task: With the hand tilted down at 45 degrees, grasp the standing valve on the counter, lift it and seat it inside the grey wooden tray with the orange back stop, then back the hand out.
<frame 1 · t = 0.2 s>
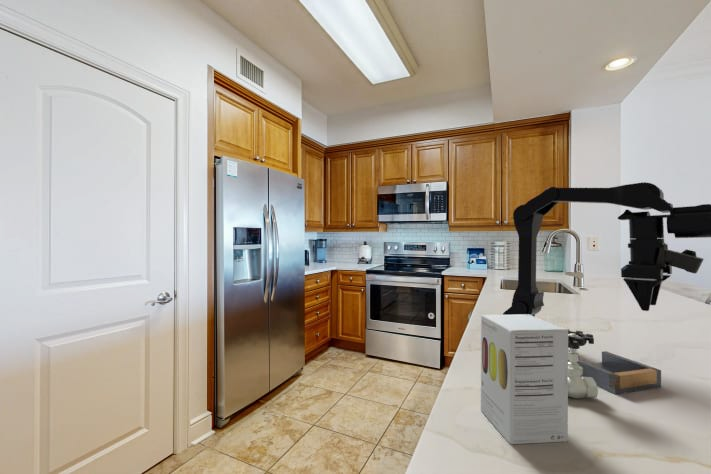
hand: (649, 307, 71), 14 cm above the counter, tool pointing down, fingers open, 9 cm apart
supplement box: (520, 426, 50), on the counter
valve: (573, 398, 59), on the counter
grey wooden tray: (610, 378, 67), on the counter
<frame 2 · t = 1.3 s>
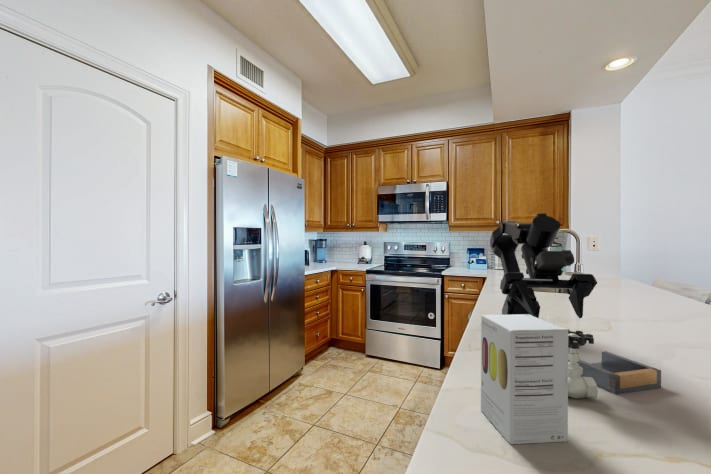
hand: (557, 316, 67), 13 cm above the counter, tool tilted 45°, fingers open, 9 cm apart
nothing on the counter moved.
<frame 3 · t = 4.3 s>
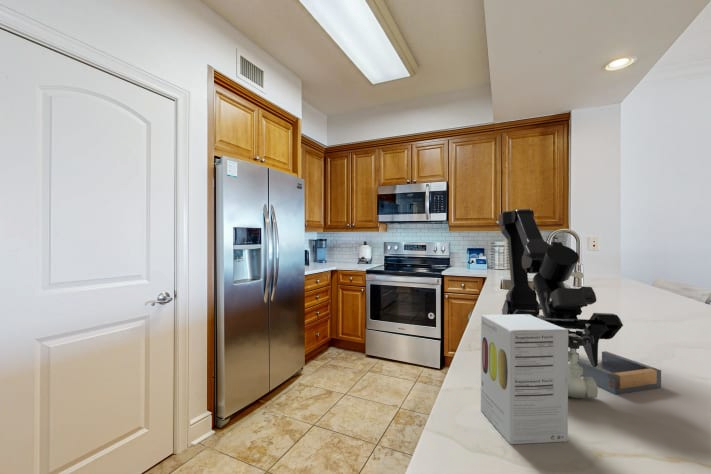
hand: (576, 364, 58), 7 cm above the counter, tool tilted 45°, fingers closed on valve, 6 cm apart
valve: (573, 397, 59), on the counter, touching gripper
everything else where it was.
when the fingers open (8 cm above the counter, at t = 7.7 s): valve stays where it is, resting on grey wooden tray.
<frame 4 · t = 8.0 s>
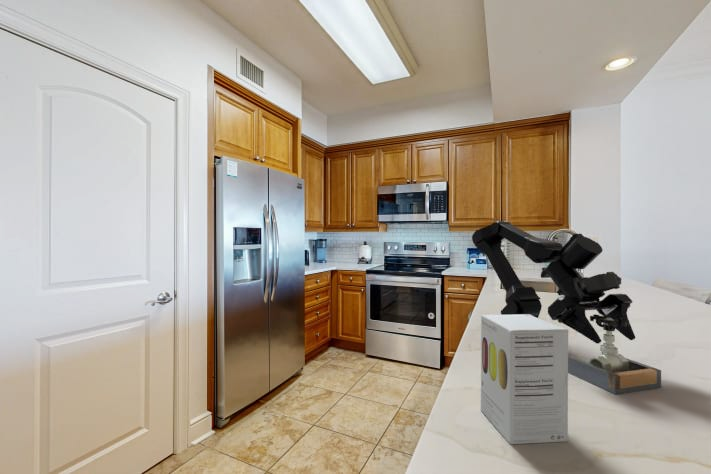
hand: (616, 340, 66), 9 cm above the counter, tool tilted 45°, fingers open, 9 cm apart
valve: (608, 374, 67), point 1 cm above the counter, touching grey wooden tray
everything else where it was.
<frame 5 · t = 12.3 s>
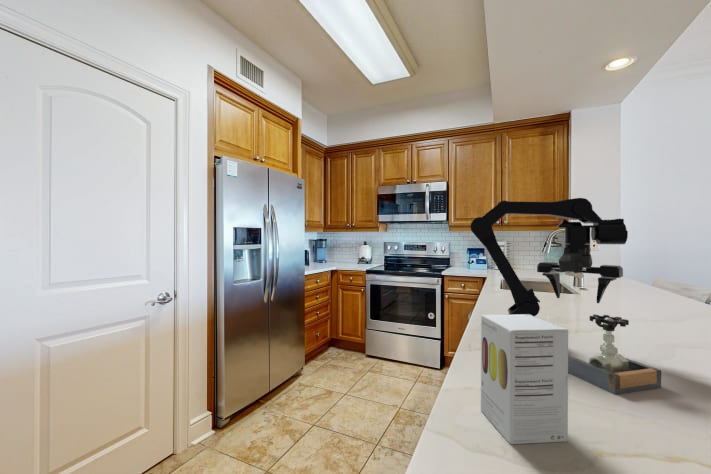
hand: (577, 300, 86), 13 cm above the counter, tool pointing down, fingers open, 9 cm apart
nothing on the counter moved.
at the end: valve 0.2 cm from the grey wooden tray (horizontally); valve tilted 0°; valve point 0.8 cm above the counter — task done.
